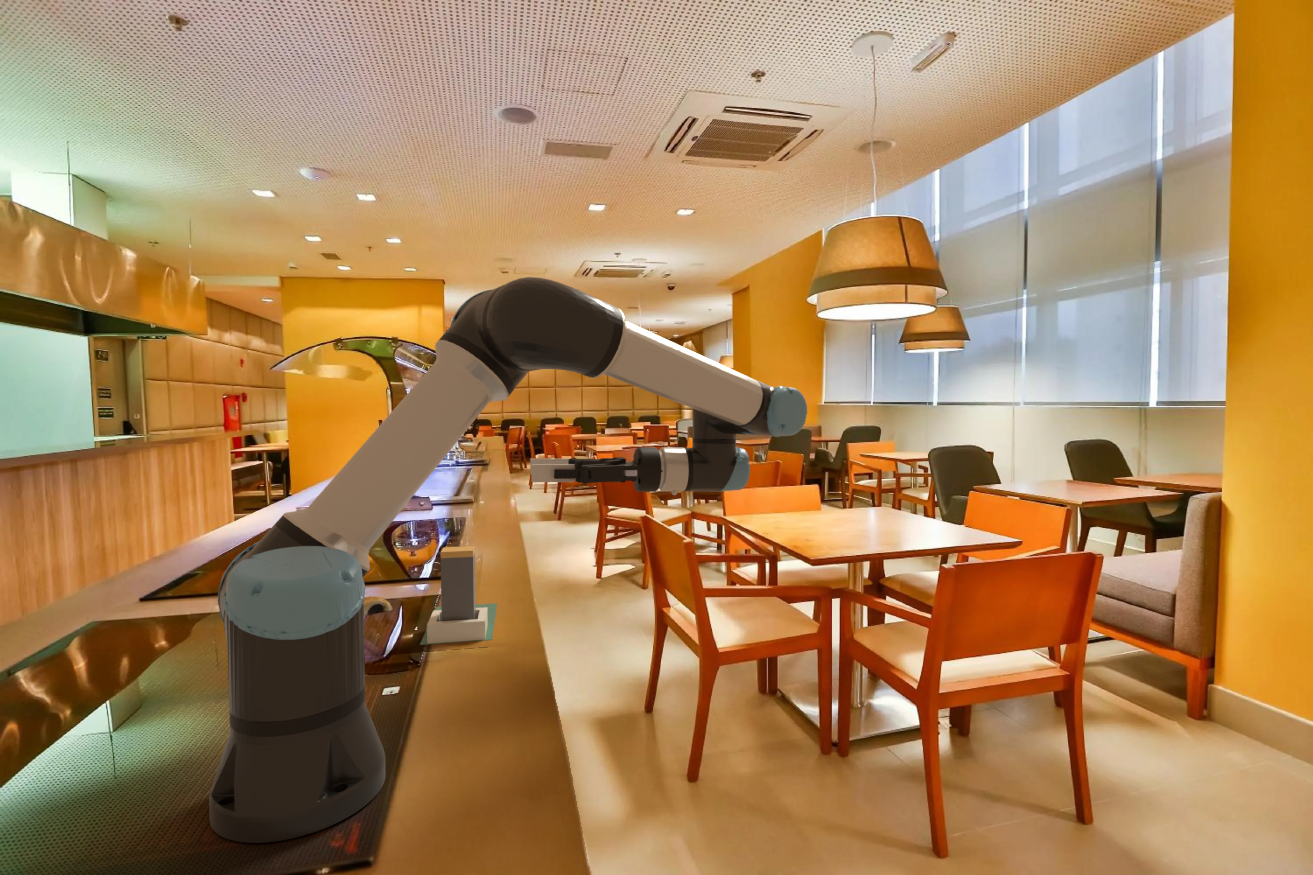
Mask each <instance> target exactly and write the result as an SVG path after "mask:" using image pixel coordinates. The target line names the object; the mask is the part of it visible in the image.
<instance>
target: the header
mask: <svg viewBox="0 0 1313 875" xmlns="http://www.w3.org/2000/svg"><path fill="white" fill-rule="evenodd" d="M487 626H488V609H487V607H483V608H476V619H472V620H456V621H442V610H435V609H434V610H432V613H431V616H430V618H429V620H428V621H427V624H426V629H427V644H428V645H430V644H429V643H442V644H444V643H443V642H457V641H471V640H485V638H486V632H487ZM485 641H486V640H485ZM471 642H472V641H471ZM457 643H458V642H457Z"/></svg>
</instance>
